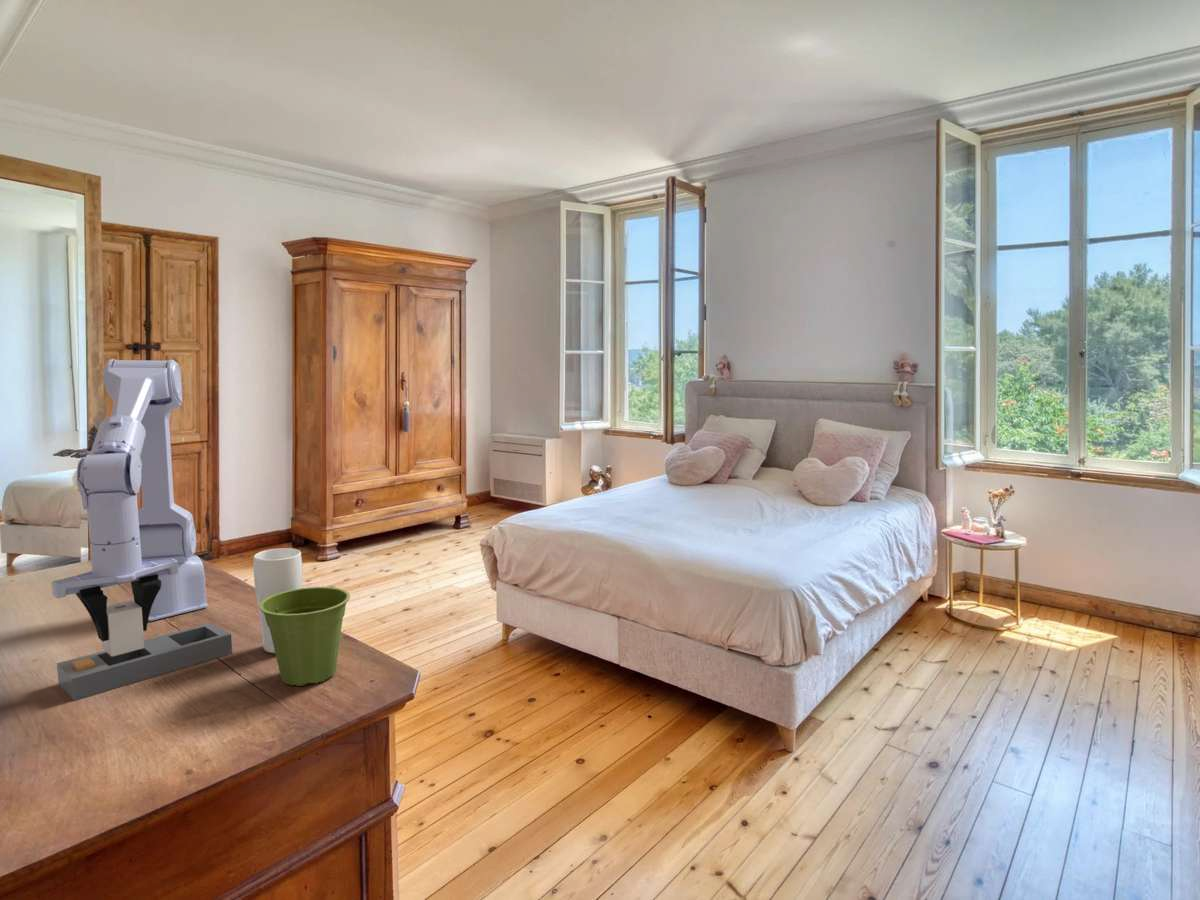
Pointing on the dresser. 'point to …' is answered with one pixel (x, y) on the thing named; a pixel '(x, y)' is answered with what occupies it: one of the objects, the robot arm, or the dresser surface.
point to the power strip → (143, 660)
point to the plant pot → (306, 631)
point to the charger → (124, 628)
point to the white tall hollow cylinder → (275, 580)
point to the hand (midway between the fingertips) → (122, 634)
